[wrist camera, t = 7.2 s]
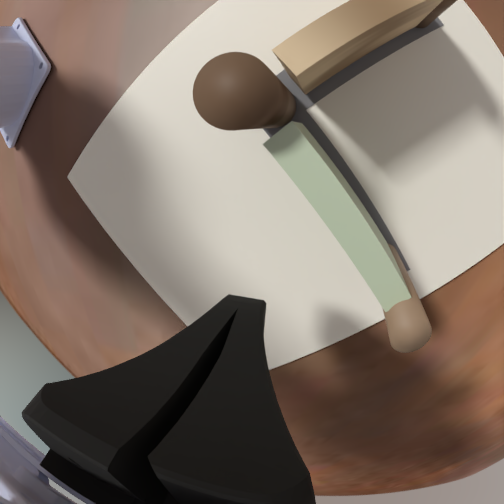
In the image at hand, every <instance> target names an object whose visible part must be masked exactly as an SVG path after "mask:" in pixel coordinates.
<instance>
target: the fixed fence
mask: <svg viewBox="0 0 504 504" xmlns="http://www.w3.org/2000/svg"><path fill="white" fill-rule="evenodd" d="M456 1H457V0H349V1H348V2H346V3H344V4H342V5H340V6H339V7H337V8H335V9H333V10H332V11H330V12H328V13H326V14H325V15H323V16H321V17H320V18H318V19H317V20H315V21H313V22H312V23H310V24H309V25H307V26H306V27H304V28H302V29H301V30H299V31H298V32H296V33H295V34H293V35H292V36H291V37H289V38H288V39H286V40H285V41H283V42H282V43H280V44H279V45H278V46H276V47H275V48H274V49H272V51H273V53H274V54H275V56H276V57H277V58H278V60H279V61H280V63H281V64H282V66H283V67H284V69H285V70H286V72H287V73H288V75H289V76H290V78H291V79H292V80H293V81H294V82H295V83H296V85H297V86H298V87H299V88H300V89H301V90H302V92H303V93H304V94H305V95H306V94H307V93H309V92H310V91H312V90H313V89H314V88H316V87H317V86H319V85H320V84H322V83H323V82H325V81H326V80H327V79H329V78H330V77H332V76H333V75H335V74H336V73H338V72H339V71H341V70H343V69H344V68H346V67H347V66H349V65H350V64H352V63H353V62H355V61H357V60H358V59H360V58H361V57H363V56H365V55H366V54H368V53H370V52H371V51H373V50H375V49H376V48H378V47H380V46H381V45H383V44H385V43H387V42H388V41H390V40H392V39H394V38H395V37H397V36H399V35H401V34H403V33H404V32H406V31H408V30H410V29H412V28H414V27H416V28H425V27H427V26H428V25H429V24H430V23H431V22H433V21H434V20H435V19H436V18H437V17H438V16H440V15H441V14H442V13H443V12H444V11H445V10H447V9H448V8H449V7H450V6H451V5H453V4H454V3H455V2H456ZM193 101H194V105H195V107H196V110H197V111H198V113H199V115H200V116H201V117H202V118H203V119H204V120H205V121H206V122H207V123H208V124H210V125H212V126H214V127H216V128H218V129H222V130H228V131H235V130H248V129H264V128H278V127H282V126H284V125H286V124H287V123H289V122H290V121H291V120H292V118H293V117H294V115H295V112H296V101H295V98H294V96H293V94H292V93H291V92H290V91H289V89H288V88H287V87H286V86H285V85H284V84H283V83H282V82H281V81H280V79H279V78H278V77H277V76H276V75H275V74H274V73H273V72H272V71H271V70H270V69H269V68H268V67H267V66H266V65H265V64H264V63H263V62H262V61H261V60H260V59H258V58H257V57H255V56H253V55H251V54H248V53H243V52H228V53H224V54H221V55H218V56H216V57H214V58H213V59H211V60H210V61H208V62H207V63H206V64H205V65H204V66H203V67H202V68H201V70H200V71H199V73H198V74H197V76H196V79H195V82H194V85H193Z"/></svg>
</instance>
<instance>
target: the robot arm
mask: <svg viewBox="0 0 504 504" xmlns="http://www.w3.org/2000/svg"><path fill="white" fill-rule="evenodd" d="M50 69H51V65H50V63H49V61H48V59H47V58H46V56H45V55H44V53H43V52H42V50H41V49H40V47H39V45H38V44H37V42H36V41H35V39H34V37H33V36H32V34H31V33H30V31H29V29H28V28H27V26H26V24H25V23H24V21H23V19H22V18H19V17H18V18H17V19H16V20H15V22H14V23H13V25H12V26H0V131H1V133H2V135H3V137H4V139H5V142H6V144H7V146H8V147H9V148H13V147H14V145H15V143H16V140H17V138H18V135H19V133H20V131H21V128H22V126H23V123H24V121H25V119H26V117H27V115H28V112H29V110H30V108H31V106H32V104H33V102H34V100H35V98H36V96H37V94H38V92H39V90H40V88H41V86H42V85H43V83H44V81H45V79H46V77H47V76H48V74H49V72H50ZM265 315H266V302H265V301H264V300H261V299H255V298H248V297H242V296H236V295H231V294H228V295H227V296H226V297H224V298H223V299H222V300H221V301H219V302H218V303H217V304H216V305H215V306H213V307H212V308H211V309H210V310H209V311H207V312H206V313H205V314H204V315H202V316H201V317H200V318H198V319H197V320H196V321H194V322H193V323H192V324H190V325H189V326H188V327H186V328H185V329H184V330H182V331H181V332H179V333H178V334H176V335H175V336H173V337H172V338H170V339H169V340H167V341H165V342H164V343H162V344H160V345H159V346H157V347H155V348H153V349H152V350H150V351H148V352H146V353H144V354H142V355H140V356H138V357H135V358H133V359H131V360H128V361H126V362H124V363H121V364H119V365H117V366H114V367H111V368H109V369H106V370H103V371H100V372H97V373H93V374H90V375H86V376H83V377H79V378H74V379H70V380H64V381H59V382H54V383H47V384H45V385H44V386H43V387H42V389H41V390H40V391H39V392H38V393H37V395H36V396H35V397H34V398H33V399H32V401H31V402H30V403H29V404H28V405H27V407H26V408H25V409H24V410H23V412H22V417H23V419H24V421H25V422H26V423H27V425H28V426H29V427H30V428H31V429H32V430H33V431H34V432H35V433H36V435H38V437H40V439H41V440H42V441H43V442H44V443H45V444H46V445H47V446H48V447H49V448H50V450H49V451H48V453H47V455H46V456H45V455H44V454H43V453H41V452H40V451H39V450H37V448H35V447H34V446H33V445H32V444H30V443H29V442H28V441H27V440H26V439H24V438H23V437H22V436H21V435H20V434H19V433H18V432H17V431H16V430H14V429H13V428H12V427H11V426H10V425H9V424H8V423H7V422H6V421H5V420H4V419H3V418H2V417H1V416H0V504H77V503H75V502H74V501H72V500H71V499H69V498H68V497H66V496H64V495H63V494H61V493H60V492H58V491H57V490H56V489H54V488H53V487H51V486H50V485H49V479H48V478H50V479H51V480H53V481H54V482H55V483H56V484H58V485H59V486H61V487H62V488H64V489H65V490H66V491H68V492H69V493H71V494H72V495H74V496H75V497H77V498H78V499H80V500H81V501H83V502H85V503H86V504H316V502H315V495H314V490H313V486H312V482H311V477H310V473H309V471H308V469H307V467H306V465H305V464H304V462H303V460H302V458H301V456H300V454H299V452H298V450H297V448H296V446H295V444H294V442H293V440H292V437H291V435H290V433H289V431H288V428H287V426H286V423H285V421H284V418H283V415H282V413H281V410H280V407H279V405H278V402H277V398H276V395H275V392H274V389H273V385H272V381H271V377H270V373H269V369H268V364H267V358H266V352H265V345H264V326H265Z"/></svg>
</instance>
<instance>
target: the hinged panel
mask: <svg viewBox="0 0 504 504" xmlns="http://www.w3.org/2000/svg"><path fill="white" fill-rule="evenodd" d="M263 145H264V146H265V148H266V149H267V150H268V151H269V152H270V154H271V155H272V156H273V157H274V158H275V160H276V161H277V162H278V163H279V164H280V166H281V167H282V168H283V169H284V171H285V172H286V173H287V174H288V176H289V177H290V178H291V179H292V181H293V182H294V183H295V185H296V186H297V187H298V188H299V190H300V191H301V192H302V193H303V195H304V196H305V197H306V199H307V200H308V201H309V203H310V204H311V205H312V207H313V208H314V209H315V211H316V212H317V213H318V215H319V216H320V217H321V219H322V220H323V221H324V223H325V224H326V225H327V227H328V228H329V230H330V231H331V232H332V234H333V235H334V236H335V238H336V239H337V241H338V242H339V243H340V245H341V246H342V248H343V249H344V251H345V252H346V253H347V255H348V256H349V258H350V259H351V261H352V262H353V264H354V265H355V266H356V268H357V269H358V271H359V272H360V274H361V275H362V277H363V278H364V280H365V281H366V283H367V284H368V286H369V287H370V289H371V290H372V292H373V294H374V295H375V297H376V298H377V300H378V301H379V303H380V304H381V306H382V308H383V312H384V316H385V321H386V325H387V329H388V334H389V339H390V343H391V346H392V347H393V349H395V350H396V351H398V352H402V353H408V352H413V351H416V350H418V349H420V348H421V347H423V346H424V345H425V344H426V343H427V342H428V340H429V339H430V337H431V333H432V328H431V325H430V322H429V320H428V318H427V315H426V313H425V310H424V308H423V306H422V303H421V301H420V299H419V296H418V294H417V292H416V290H415V288H414V285H413V283H412V281H411V279H410V277H409V275H408V273H407V270H406V268H405V266H404V264H403V262H402V260H401V258H400V256H399V254H398V252H397V250H396V249H395V247H394V246H392V245H391V244H388V243H387V242H386V240H385V238H384V237H383V235H382V233H381V232H380V230H379V229H378V227H377V225H376V224H375V222H374V221H373V219H372V218H371V216H370V214H369V213H368V211H367V210H366V208H365V207H364V205H363V204H362V202H361V201H360V199H359V198H358V196H357V195H356V194H355V192H354V191H353V189H352V188H351V186H350V185H349V184H348V182H347V181H346V179H345V178H344V177H343V175H342V174H341V172H340V171H339V170H338V168H337V167H336V166H335V164H334V163H333V162H332V160H331V159H330V158H329V156H328V155H327V154H326V152H325V151H324V150H323V148H322V147H321V146H320V145H319V143H318V142H317V141H316V139H315V138H314V137H313V136H312V134H311V133H310V132H309V131H308V130H307V128H306V127H305V126H304V125H303V123H298V122H294V121H291V122H290V123H289V124H287V125H286V126H285V127H283V128H282V129H281V130H280V131H278V132H277V133H276V134H275V135H273V136H272V137H271V138H270V139H268V140H267V141H266V142H265V143H263Z"/></svg>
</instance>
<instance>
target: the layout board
mask: <svg viewBox="0 0 504 504" xmlns="http://www.w3.org/2000/svg"><path fill="white" fill-rule="evenodd" d="M348 1H349V0H219V1H217V2H216V3H215V4H214V5H212V6H211V7H210V8H209V9H207V10H206V11H205V12H204V13H202V14H201V15H200V16H199V17H198V18H197V19H195V20H194V21H193V22H192V23H191V24H190V25H189V26H188V27H186V28H185V29H184V30H183V31H182V32H181V33H180V34H179V35H178V36H177V37H176V38H175V39H174V40H173V41H172V42H171V43H169V44H168V45H167V46H166V47H165V48H164V49H163V50H162V51H161V53H160V54H159V55H158V56H157V57H156V58H155V59H154V60H153V61H152V62H151V63H150V64H149V65H148V66H147V67H146V69H145V70H144V71H143V72H142V73H141V74H140V75H139V76H138V78H137V79H136V80H135V81H134V82H133V83H132V85H131V86H130V87H129V88H128V89H127V91H126V92H125V93H124V94H123V96H122V97H121V98H120V99H119V101H118V102H117V103H116V104H115V106H114V107H113V108H112V110H111V111H110V112H109V114H108V115H107V116H106V118H105V119H104V120H103V122H102V123H101V125H100V126H99V127H98V129H97V130H96V132H95V133H94V135H93V136H92V138H91V139H90V141H89V142H88V144H87V145H86V147H85V148H84V150H83V151H82V153H81V155H80V156H79V158H78V160H77V161H76V163H75V164H74V166H73V168H72V170H71V171H70V173H69V175H68V176H67V178H68V179H69V181H70V182H71V184H72V185H73V187H74V188H75V189H76V191H77V192H78V194H79V195H80V197H81V198H82V200H83V201H84V202H85V204H86V205H87V206H88V208H89V209H90V211H91V212H92V213H93V215H94V216H95V217H96V219H97V220H98V221H99V223H100V224H101V225H102V227H103V228H104V229H105V231H106V232H107V233H108V235H109V236H110V237H111V238H112V240H113V241H114V242H115V244H116V245H117V246H118V247H119V249H120V250H121V251H122V252H123V254H124V255H125V256H126V257H127V258H128V260H129V261H130V262H131V263H132V265H133V266H134V267H135V268H136V269H137V271H138V272H139V273H140V274H141V275H142V276H143V278H144V279H145V280H146V281H147V282H148V283H149V285H150V286H151V287H152V288H153V289H154V290H155V291H156V293H157V294H158V295H159V296H160V297H161V298H162V299H163V300H164V301H165V303H166V304H167V305H168V306H169V307H170V308H171V309H172V310H173V311H174V312H175V313H176V315H177V316H178V317H179V318H180V319H181V320H182V321H183V322H184V323H185V324H186V325H187V326H189V325H190V324H192V323H193V322H194V321H196V320H197V319H198V318H200V317H201V316H202V315H204V314H205V313H206V312H207V311H209V310H210V309H211V308H212V307H213V306H215V305H216V304H217V303H218V302H219V301H221V300H222V299H223V298H224V297H226V296H227V295H228V294H231V295H236V296H242V297H248V298H255V299H261V300H264V301H265V302H266V315H265V326H264V345H265V352H266V358H267V364H268V369H269V370H270V369H273V368H276V367H278V366H281V365H284V364H286V363H289V362H291V361H294V360H296V359H299V358H301V357H304V356H306V355H308V354H311V353H313V352H315V351H318V350H320V349H322V348H325V347H327V346H329V345H331V344H334V343H336V342H338V341H340V340H342V339H344V338H347V337H349V336H351V335H353V334H355V333H357V332H359V331H361V330H363V329H365V328H367V327H369V326H371V325H373V324H375V323H377V322H379V321H381V320H383V319H385V316H384V312H383V308H382V306H381V304H380V303H379V301H378V300H377V298H376V297H375V295H374V294H373V292H372V290H371V289H370V287H369V286H368V284H367V283H366V281H365V280H364V278H363V277H362V275H361V274H360V272H359V271H358V269H357V268H356V266H355V265H354V264H353V262H352V261H351V259H350V258H349V256H348V255H347V253H346V252H345V251H344V249H343V248H342V246H341V245H340V243H339V242H338V241H337V239H336V238H335V236H334V235H333V234H332V232H331V231H330V230H329V228H328V227H327V225H326V224H325V223H324V221H323V220H322V219H321V217H320V216H319V215H318V213H317V212H316V211H315V209H314V208H313V207H312V205H311V204H310V203H309V201H308V200H307V199H306V197H305V196H304V195H303V193H302V192H301V191H300V190H299V188H298V187H297V186H296V185H295V183H294V182H293V181H292V179H291V178H290V177H289V176H288V174H287V173H286V172H285V171H284V169H283V168H282V167H281V166H280V164H279V163H278V162H277V161H276V160H275V158H274V157H273V156H272V155H271V154H270V152H269V151H268V150H267V149H266V148H265V146H264V145H263V143H265V142H266V141H267V140H268V139H270V138H271V137H272V136H273V135H275V134H276V133H277V132H278V131H280V130H281V129H282V128H283V127H285V126H286V125H287V124H289V123H290V122H291V121H294V122H298V123H303V125H304V126H305V127H306V128H307V130H308V131H309V132H310V133H311V134H312V136H313V137H314V138H315V139H316V141H317V142H318V143H319V145H320V146H321V147H322V148H323V150H324V151H325V152H326V154H327V155H328V156H329V158H330V159H331V160H332V162H333V163H334V164H335V166H336V167H337V168H338V170H339V171H340V172H341V174H342V175H343V177H344V178H345V179H346V181H347V182H348V184H349V185H350V186H351V188H352V189H353V191H354V192H355V194H356V195H357V196H358V198H359V199H360V201H361V202H362V204H363V205H364V207H365V208H366V210H367V211H368V213H369V214H370V216H371V218H372V219H373V221H374V222H375V224H376V225H377V227H378V229H379V230H380V232H381V233H382V235H383V237H384V238H385V240H386V242H387V243H388V244H391V245H392V246H394V247H395V249H396V250H397V252H398V254H399V256H400V258H401V260H402V262H403V264H404V266H405V268H406V270H407V273H408V275H409V277H410V279H411V281H412V283H413V285H414V288H415V290H416V292H417V294H418V296H419V299H421V298H423V297H424V296H426V295H428V294H429V293H431V292H433V291H434V290H436V289H438V288H439V287H441V286H442V285H444V284H446V283H447V282H449V281H450V280H452V279H453V278H455V277H457V276H458V275H460V274H461V273H463V272H464V271H466V270H467V269H469V268H470V267H472V266H473V265H474V264H476V263H477V262H479V261H480V260H482V259H483V258H484V257H486V256H487V255H489V254H490V253H491V252H493V251H494V250H495V249H497V248H498V247H499V246H501V245H502V244H503V243H504V57H503V55H502V54H501V52H500V50H499V49H498V47H497V46H496V44H495V43H494V41H493V40H492V38H491V37H490V35H489V34H488V32H487V31H486V29H485V28H484V26H483V25H482V24H481V22H480V21H479V20H478V18H477V17H476V16H475V14H474V13H473V12H472V10H471V9H470V8H469V7H468V5H467V4H466V3H465V2H464V1H463V0H457V1H456V2H455V3H454V4H453V5H451V6H450V7H449V8H448V9H447V10H445V11H444V12H443V13H442V14H441V15H440V16H438V17H437V18H436V19H435V20H434V21H433V22H431V23H430V24H429V25H428V26H427V27H425V28H416V27H414V28H412V29H410V30H408V31H406V32H404V33H403V34H401V35H399V36H397V37H395V38H394V39H392V40H390V41H388V42H387V43H385V44H383V45H381V46H380V47H378V48H376V49H375V50H373V51H371V52H370V53H368V54H366V55H365V56H363V57H361V58H360V59H358V60H357V61H355V62H353V63H352V64H350V65H349V66H347V67H346V68H344V69H343V70H341V71H339V72H338V73H336V74H335V75H333V76H332V77H330V78H329V79H327V80H326V81H325V82H323V83H322V84H320V85H319V86H317V87H316V88H314V89H313V90H312V91H310V92H309V93H307V94H306V95H305V94H304V93H303V92H302V90H301V89H300V88H299V87H298V86H297V85H296V83H295V82H294V81H293V80H292V79H291V78H290V76H289V75H288V73H287V72H286V70H285V69H284V67H283V66H282V64H281V63H280V61H279V60H278V58H277V57H276V56H275V54H274V53H273V51H272V49H274V48H275V47H276V46H278V45H279V44H280V43H282V42H283V41H285V40H286V39H288V38H289V37H291V36H292V35H293V34H295V33H296V32H298V31H299V30H301V29H302V28H304V27H306V26H307V25H309V24H310V23H312V22H313V21H315V20H317V19H318V18H320V17H321V16H323V15H325V14H326V13H328V12H330V11H332V10H333V9H335V8H337V7H339V6H340V5H342V4H344V3H346V2H348ZM228 52H243V53H248V54H251V55H253V56H255V57H257V58H258V59H260V60H261V61H262V62H263V63H264V64H265V65H266V66H267V67H268V68H269V69H270V70H271V71H272V72H273V73H274V74H275V75H276V76H277V77H278V78H279V79H280V81H281V82H282V83H283V84H284V85H285V86H286V87H287V88H288V89H289V91H290V92H291V93H292V94H293V96H294V98H295V101H296V112H295V115H294V117H293V118H292V120H291V121H290V122H289V123H287V124H286V125H284V126H282V127H278V128H264V129H248V130H235V131H228V130H222V129H218V128H216V127H214V126H212V125H210V124H208V123H207V122H206V121H205V120H204V119H203V118H202V117H201V116H200V115H199V113H198V111H197V110H196V107H195V105H194V101H193V85H194V82H195V79H196V76H197V74H198V73H199V71H200V70H201V68H202V67H203V66H204V65H205V64H206V63H207V62H208V61H210V60H211V59H213V58H214V57H216V56H218V55H221V54H224V53H228Z"/></svg>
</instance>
